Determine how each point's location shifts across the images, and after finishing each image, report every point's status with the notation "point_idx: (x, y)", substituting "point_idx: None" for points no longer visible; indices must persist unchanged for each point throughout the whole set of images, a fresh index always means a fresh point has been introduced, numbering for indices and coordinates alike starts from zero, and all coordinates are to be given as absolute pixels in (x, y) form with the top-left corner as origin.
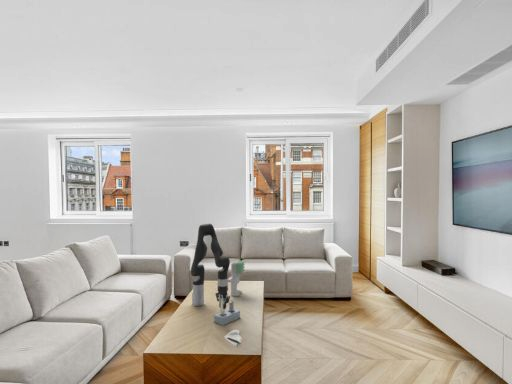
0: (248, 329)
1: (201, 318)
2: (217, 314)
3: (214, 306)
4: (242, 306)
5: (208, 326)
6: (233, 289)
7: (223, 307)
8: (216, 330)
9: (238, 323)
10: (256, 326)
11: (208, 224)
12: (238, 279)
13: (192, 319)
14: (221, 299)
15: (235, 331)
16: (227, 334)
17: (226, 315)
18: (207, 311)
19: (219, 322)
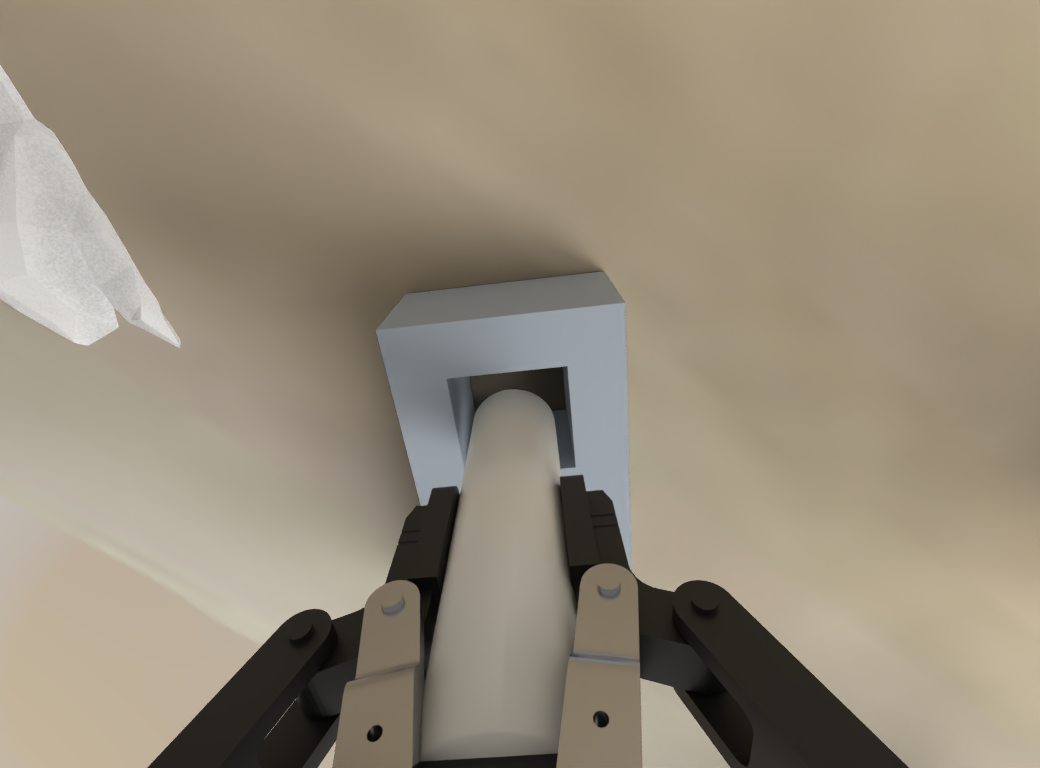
0: (86, 448)
1: (894, 196)
2: (596, 365)
3: (1001, 580)
4: (693, 739)
5: (522, 71)
6: None
7: (440, 507)
8: (281, 77)
9: (324, 473)
10: (129, 552)
11: None
12: None
13: (1033, 23)
14: (467, 697)
15: (1, 256)
16: (21, 118)
17: (440, 445)
18: (988, 431)
19: (476, 290)
